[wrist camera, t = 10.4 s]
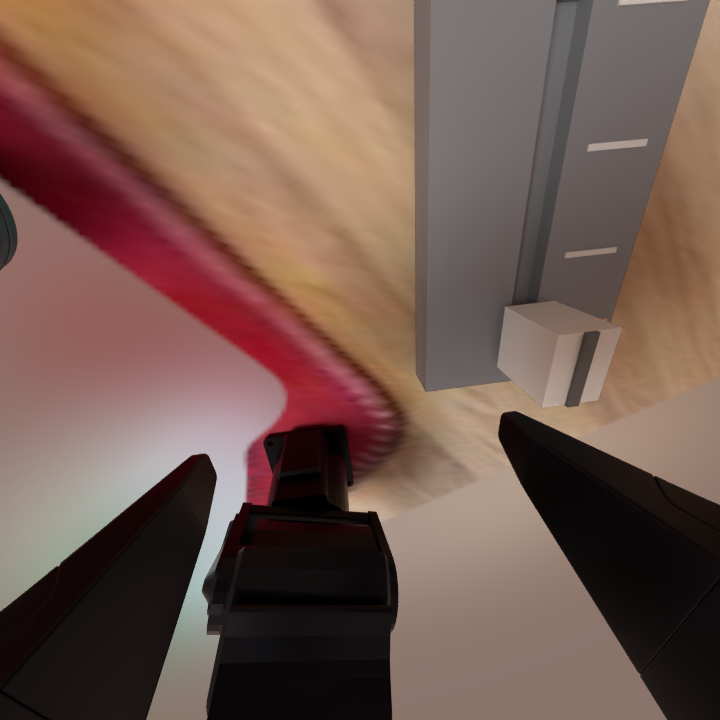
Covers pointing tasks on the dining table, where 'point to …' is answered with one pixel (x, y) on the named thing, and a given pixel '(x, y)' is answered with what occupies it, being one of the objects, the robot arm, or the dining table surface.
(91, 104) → the dining table surface
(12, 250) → the beverage bottle
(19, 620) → the robot arm
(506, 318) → the fader knob
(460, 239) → the console
